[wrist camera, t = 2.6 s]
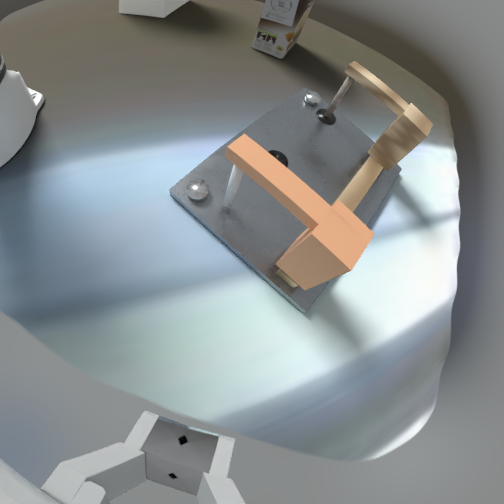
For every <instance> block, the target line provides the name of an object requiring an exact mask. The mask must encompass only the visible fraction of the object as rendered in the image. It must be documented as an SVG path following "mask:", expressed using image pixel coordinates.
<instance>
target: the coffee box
mask: <svg viewBox="0 0 504 504" xmlns="http://www.w3.org/2000/svg"><path fill="white" fill-rule="evenodd" d="M314 1H315V0H266V3H265V6H264V9H263V12H262V15H261V18H260V22H259V25H258V28H257V31H256V34H255V38H254V41H253V45H252V48H254V49H257V50H260V51H262V52H265V53H267V54H270V55H272V56H275V57H277V58H280V59H283V57H284V56H285V55H286V54H287V53H288V51H289V50H290V49H291V48H292V47H293V46H294V45H295V43H296V42H297V39H298V37H299V35H300V33H301V30H302V28H303V26H304V23H305V21H306V19H307V16H308V14H309V12H310V10H311V7H312V5H313V3H314Z"/></svg>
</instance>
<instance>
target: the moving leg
mask: <svg viewBox="0 0 504 504" xmlns="http://www.w3.org/2000/svg"><path fill="white" fill-rule="evenodd" d="M225 157H226V158H227V159H228V160H230V161H231V162H232V163H233V164H234V166H233V169H232V173H231V176H230V180H229V183H228V187H227V190H226V194H225V198H224V201H223V204H224V206H225V207H231V206H232V204H233V201H234V198H235V195H236V192H237V189H238V186H239V184H240V181H241V178H242V175H243V172H244V173H245V174H247V175H248V176H249V177H250V178H251V179H253V180H254V181H255V182H256V183H257V184H258V185H260V186H261V187H262V188H263V189H264V190H265V191H267V192H268V193H269V194H270V195H271V196H272V197H274V198H275V199H276V200H277V201H278V202H279V203H281V204H282V205H283V206H284V207H285V208H286V209H287V210H289V211H290V212H291V213H292V214H293V215H294V216H295V217H296V218H298V219H299V220H300V221H301V222H302V223H303V224H304V225H305V226H307V227H308V228H307V229H306V230H305V231H304V232H303V233H302V234H301V235H300V236H299V237H298V238H297V239H296V240H295V241H294V243H293V244H292V245H291V246H290V247H289V249H288V250H287V251H286V252H285V253H284V254H283V256H282V257H281V258H280V259H279V260H278V262H277V263H276V265H277V266H278V267H279V268H280V269H281V270H283V271H284V272H285V273H286V274H287V275H288V276H289V277H290V278H292V279H293V280H294V281H295V282H296V283H297V284H298V285H299V286H300V287H302V288H303V289H304V290H307V289H309V288H312V287H314V286H316V285H319V284H321V283H324V282H326V281H328V280H331V279H333V278H335V277H338V276H340V275H342V274H345V273H347V272H349V271H351V270H352V269H353V267H354V266H355V264H356V262H357V261H358V259H359V258H360V256H361V255H362V253H363V252H364V250H365V248H366V247H367V245H368V244H369V242H370V241H371V239H372V237H373V236H374V233H373V232H372V231H371V230H370V229H369V228H368V227H367V226H366V225H365V224H364V223H363V222H362V221H361V220H360V219H359V218H358V217H357V216H356V215H355V214H354V213H352V212H351V211H350V210H349V209H348V208H347V207H346V206H345V205H344V204H343V203H342V202H341V201H340V200H338V201H336V202H335V203H334V204H333V205H332V206H330V205H329V204H328V203H327V202H326V201H325V200H324V199H323V198H321V197H320V196H319V195H318V194H317V193H316V192H315V191H314V190H312V189H311V188H310V187H309V186H308V185H307V184H306V183H304V182H303V181H302V180H301V179H300V178H299V177H297V176H296V175H295V174H294V173H293V172H291V171H290V170H289V169H288V168H287V167H286V166H284V165H283V164H282V163H281V162H279V161H278V160H277V159H276V158H275V157H273V156H272V155H271V154H270V153H268V152H267V151H266V150H265V149H263V148H262V147H261V146H260V145H258V144H257V143H256V142H255V141H253V140H252V139H251V138H249V137H248V136H247V135H246V134H243V135H242V136H240V137H239V138H238V139H236V140H235V141H234V142H233V143H231V144H230V145H229V146H227V150H226V154H225Z"/></svg>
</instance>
